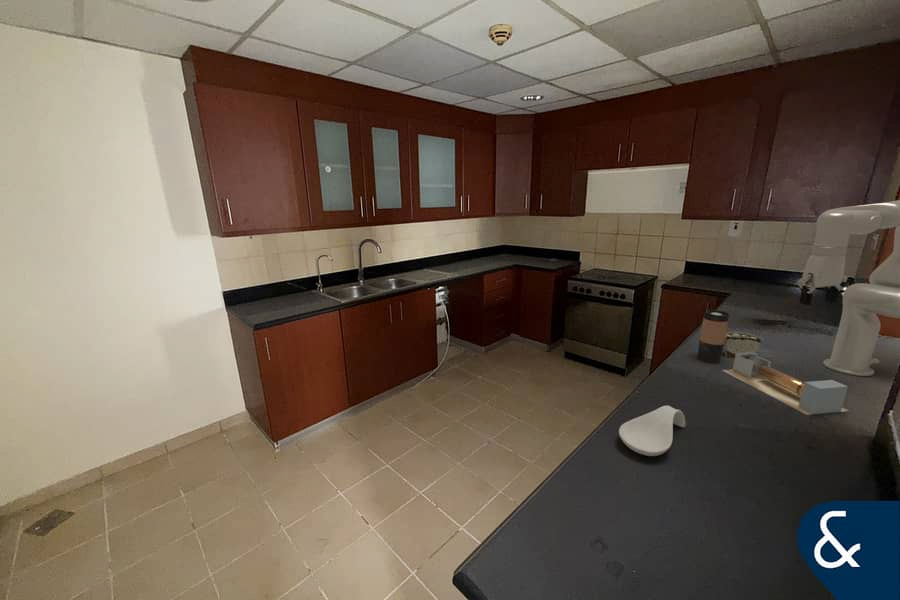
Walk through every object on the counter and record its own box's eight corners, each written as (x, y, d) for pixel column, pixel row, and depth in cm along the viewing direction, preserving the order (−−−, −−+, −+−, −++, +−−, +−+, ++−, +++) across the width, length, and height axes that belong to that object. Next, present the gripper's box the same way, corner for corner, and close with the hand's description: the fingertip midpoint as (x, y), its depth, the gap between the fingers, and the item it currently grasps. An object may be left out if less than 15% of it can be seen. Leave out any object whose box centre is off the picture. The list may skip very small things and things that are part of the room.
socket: (825, 404, 108) (832, 379, 106) (840, 411, 104) (847, 386, 102) (798, 406, 107) (804, 382, 105) (812, 414, 103) (819, 388, 101)
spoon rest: (654, 470, 85) (658, 444, 83) (608, 445, 94) (611, 420, 92) (698, 433, 98) (702, 410, 96) (653, 414, 107) (656, 392, 105)
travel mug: (724, 366, 136) (733, 316, 131) (701, 365, 137) (710, 315, 132) (714, 358, 143) (722, 310, 138) (692, 357, 145) (700, 309, 139)
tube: (756, 377, 122) (759, 365, 121) (767, 376, 123) (770, 364, 122) (814, 405, 105) (817, 392, 104) (826, 404, 106) (830, 391, 104)
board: (756, 370, 133) (757, 367, 132) (849, 413, 105) (850, 410, 104) (721, 372, 131) (722, 370, 131) (805, 417, 103) (806, 414, 103)
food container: (752, 356, 144) (756, 332, 142) (759, 362, 139) (764, 338, 136) (715, 353, 148) (719, 330, 146) (721, 358, 143) (725, 335, 140)
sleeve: (749, 369, 131) (752, 351, 129) (767, 378, 124) (771, 359, 122) (732, 370, 130) (735, 352, 129) (750, 379, 124) (754, 360, 122)
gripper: (838, 248, 120) (827, 297, 125) (792, 252, 118) (783, 302, 123) (866, 251, 113) (853, 303, 117) (818, 255, 111) (806, 308, 116)
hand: (817, 302), depth 120 cm, fingers open, 9 cm apart
